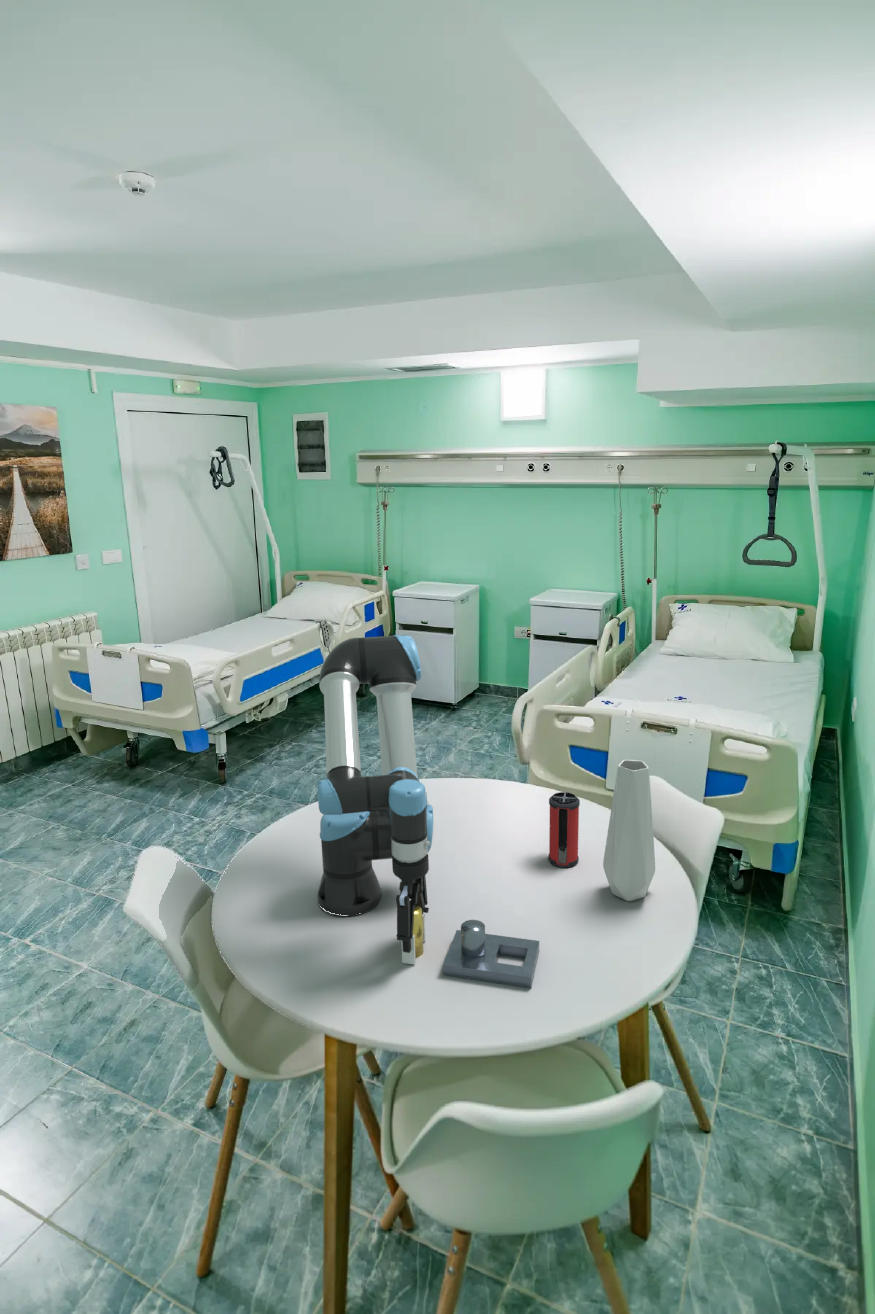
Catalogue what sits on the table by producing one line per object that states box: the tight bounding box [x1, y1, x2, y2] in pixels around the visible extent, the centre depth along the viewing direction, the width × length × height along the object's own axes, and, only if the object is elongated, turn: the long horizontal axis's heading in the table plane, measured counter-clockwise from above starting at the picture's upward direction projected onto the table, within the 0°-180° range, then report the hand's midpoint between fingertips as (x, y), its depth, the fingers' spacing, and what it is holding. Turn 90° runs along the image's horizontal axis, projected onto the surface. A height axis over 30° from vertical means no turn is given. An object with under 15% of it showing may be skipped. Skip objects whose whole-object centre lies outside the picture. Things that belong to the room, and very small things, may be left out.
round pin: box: [413, 905, 425, 959], centre depth 160 cm, size 4×4×10 cm
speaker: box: [548, 791, 581, 868], centre depth 194 cm, size 8×8×18 cm
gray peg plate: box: [442, 919, 540, 989], centre depth 156 cm, size 18×12×8 cm, turn 75°
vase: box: [602, 759, 656, 902], centre depth 177 cm, size 12×12×33 cm
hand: (414, 951), depth 161 cm, fingers open, 7 cm apart
